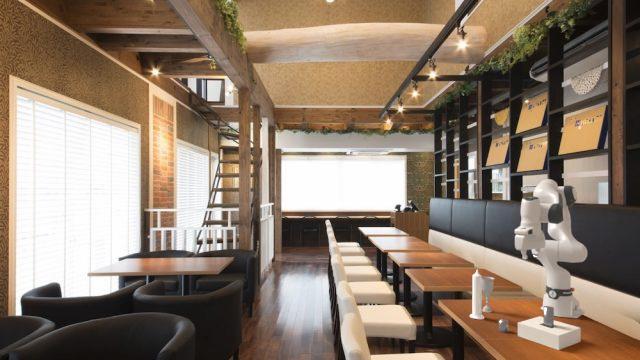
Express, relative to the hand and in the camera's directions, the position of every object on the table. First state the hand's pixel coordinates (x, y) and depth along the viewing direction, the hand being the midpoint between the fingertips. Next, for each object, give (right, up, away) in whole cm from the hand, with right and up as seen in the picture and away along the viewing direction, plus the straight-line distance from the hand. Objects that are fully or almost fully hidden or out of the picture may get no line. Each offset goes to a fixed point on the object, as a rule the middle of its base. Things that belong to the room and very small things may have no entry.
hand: (530, 258), depth 193 cm
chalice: (-11, -34, +23) cm, 42 cm away
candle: (-21, -33, +13) cm, 41 cm away
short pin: (-16, -33, -7) cm, 37 cm away
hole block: (0, -33, -16) cm, 36 cm away
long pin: (0, -33, -16) cm, 36 cm away
